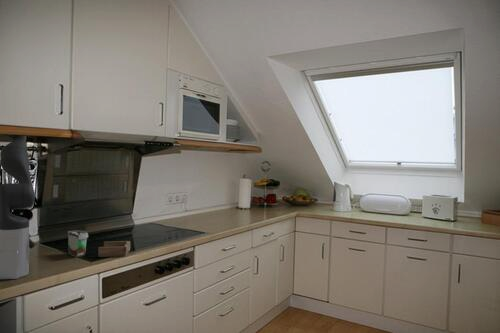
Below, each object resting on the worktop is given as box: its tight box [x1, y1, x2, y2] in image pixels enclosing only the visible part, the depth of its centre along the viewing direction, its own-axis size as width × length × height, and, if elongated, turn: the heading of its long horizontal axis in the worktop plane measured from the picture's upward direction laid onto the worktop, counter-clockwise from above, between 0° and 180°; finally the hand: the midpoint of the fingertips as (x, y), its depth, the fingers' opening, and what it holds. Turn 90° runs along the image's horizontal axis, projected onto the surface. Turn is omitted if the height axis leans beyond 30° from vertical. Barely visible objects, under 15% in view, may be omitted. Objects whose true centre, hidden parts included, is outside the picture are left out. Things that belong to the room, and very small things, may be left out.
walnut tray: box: [97, 240, 131, 258], centre depth 158 cm, size 12×12×4 cm
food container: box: [67, 230, 89, 258], centre depth 155 cm, size 12×6×10 cm, turn 48°
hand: (33, 246), depth 152 cm, fingers closed
